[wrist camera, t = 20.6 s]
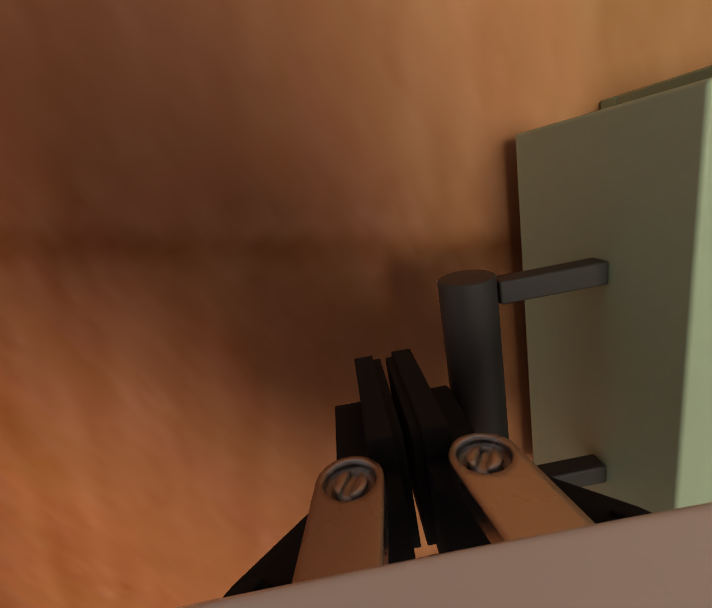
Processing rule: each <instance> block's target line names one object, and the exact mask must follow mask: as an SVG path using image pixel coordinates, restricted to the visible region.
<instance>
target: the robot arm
mask: <svg viewBox="0 0 712 608" xmlns="http://www.w3.org/2000/svg"><path fill="white" fill-rule="evenodd" d="M391 354H392V357H387V358H385V359H386V366H387V372H388V378H389V384H390V390H391V393H390V390H389V387H388V383H387V380H386V377H385V374H384V370H383V367H382V364H381V360H380V359H376V360H373V357H372V355H371V356H366V357H361V358H355V359H354V361H355V367H356V374H357V381H358V387H359V394H360V400H361V402H356V403H350V404H345V405H340V406H336V407H335V418H336V451H337V461H335V462H333V463H331V464H330V465H328V466H327V467H326V468H325V469H324V470H323V471H322V472H321V473H320V474H319V476H318V479H317V481H316V484H315V488H314V492H313V496H312V501H311V505H310V509H309V513H308V514H307V515H306V516H305V517H304V518H303V519H302V520H301V521H300V522H299V523H298V524H297V525H296V526H295V527H294V528H293V529H292V530H291V531H290V532H289V533H287V534H286V535H285V536H284V537H283V538H282V539H281V540H280V541H279V542H278V543H277V544H276V545H275V546H274V547H273V548H272V549H271V550H270V551H269V552H268V553H267V554H265V555H264V556H263V557H262V558H261V559H260V560H259V561H258V562H257V563H256V564H255V565H254V566H253V567H252V568H251V569H250V570H249V571H248V572H247V573H246V574H245V575H244V576H242V577H241V578H240V579H239V580H238V581H237V582H236V583H235V584H234V585H233V586H232V587H231V588H230V590H229V591H228V592H227V593H226V594H225V595H224V597H223V598H219V599H214V600H209V601H204V602H199V603H195V604H191V605H186V606H182V607H178V608H712V502H709V503H703V504H698V505H693V506H687V507H682V508H677V509H671V510H666V511H661V512H656V513H652V512H650V511H647V510H645V509H643V508H640V507H638V506H635V505H632V504H629V503H626V502H623V501H621V500H618V499H615V498H612V497H609V496H606V495H603V494H600V493H597V492H594V491H591V490H588V489H585V488H582V487H579V486H576V485H574V484H571V483H568V482H565V481H562V480H559V479H556V478H553V477H550V476H547V475H546V474H545V473H544V472H543V471H541V470H540V469H539V468H538V467H537V466H536V465H535V464H534V463H533V462H532V461H531V460H530V459H529V458H528V457H527V456H526V455H525V454H524V453H523V452H522V451H521V450H520V449H519V448H518V447H517V446H516V445H515V444H514V443H513V442H511V441H510V440H509V439H507V438H505V437H502V436H500V435H497V434H492V433H484V432H475V430H474V428H473V427H472V425H471V424H470V422H469V420H468V419H467V417H466V415H465V414H464V412H463V410H462V409H461V407H460V405H459V404H458V402H457V400H456V399H455V397H454V396H453V394H452V392H451V391H450V389H449V388H448V386H440V387H435V388H430V387H429V385H428V383H427V381H426V379H425V377H424V375H423V373H422V371H421V369H420V367H419V365H418V363H417V362H416V360H415V358H414V356H413V354H412V352H411V350H410V348H409V349H404V350H398V351H393V352H391ZM391 396H392V397H391ZM412 490H413V492H412ZM413 494H414V498H415V501H416V505H417V508H418V512H419V515H420V519H421V523H422V526H423V530H424V533H425V537H426V541H427V544H428V545H433V544H437V548H438V551H439V554H437V555H432V556H427V557H422V558H417V559H415V553H414V548H418V547H421V543H420V536H419V530H418V524H417V518H416V511H415V505H414V499H413Z"/></svg>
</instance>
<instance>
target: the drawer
mask: <svg viewBox="0 0 712 608" xmlns="http://www.w3.org/2000/svg"><path fill="white" fill-rule="evenodd" d="M516 154H517V172H518V190H519V208H520V226H521V244H522V262H523V271H520V272H515V273H510V274H505V275H500V276H496V275H495V273H493V272H491V271H486V270H465V271H459V272H454V273H450V274H447V275H445V276H443V277H441V278H439V279H438V282H437V287H438V295H439V303H440V311H441V319H442V327H443V335H444V344H445V352H446V360H447V368H448V376H449V384H450V391H451V392H452V394H453V396H454V397H455V399H456V400H457V402H458V404H459V405H460V407H461V409H462V410H463V412H464V414H465V415H466V417H467V419H468V420H469V422H470V424H471V425H472V427H473V428H474V430H475V432H484V433H492V434H497V435H500V436H502V437H505V438H507V439H509V435H508V422H507V408H506V395H505V382H504V369H503V356H502V343H501V329H500V316H499V303H500V304H508V303H513V302H518V301H523V300H525V317H526V335H527V353H528V371H529V389H530V407H531V426H532V444H533V462H534V464H535V465H536V466H537V467H538V468H539V469H540V470H541V471H543V472H544V473H545V474H546V475H547V476H550V477H553V478H556V479H559V480H562V481H565V482H568V483H571V484H574V485H576V486H579V487H582V488H585V489H588V490H591V491H594V492H597V493H600V494H603V495H606V496H609V497H612V498H615V499H618V500H621V501H623V502H626V503H629V504H632V505H635V506H638V507H640V508H643V509H645V510H647V511H650V512H652V513H656V512H661V511H666V510H671V509H677V508H682V507H687V506H693V505H698V504H703V503H709V502H712V78H708V79H705V80H701V81H698V82H694V83H691V84H687V85H684V86H681V87H677V88H674V89H670V90H667V91H663V92H660V93H657V94H653V95H650V96H646V97H643V98H639V99H636V100H633V101H629V102H626V103H622V104H619V105H615V106H612V107H609V108H605V109H602V110H598V111H595V112H591V113H588V114H585V115H581V116H578V117H574V118H571V119H567V120H564V121H561V122H557V123H554V124H550V125H547V126H543V127H540V128H537V129H533V130H530V131H526V132H523V133H520V134H517V135H516ZM498 302H499V303H498Z"/></svg>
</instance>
